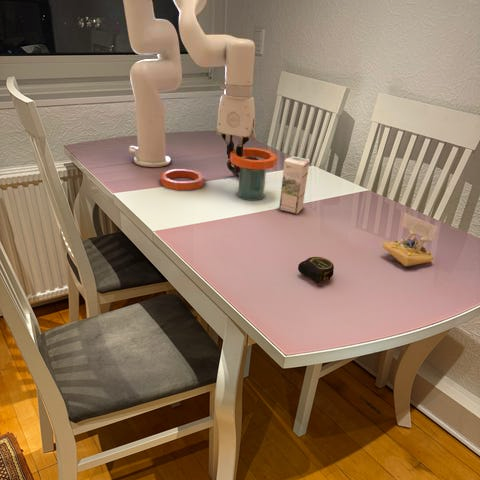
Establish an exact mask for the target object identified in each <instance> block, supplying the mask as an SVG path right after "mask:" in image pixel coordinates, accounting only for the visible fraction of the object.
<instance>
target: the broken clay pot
mask: <svg viewBox="0 0 480 480" xmlns="http://www.w3.org/2000/svg"><path fill="white" fill-rule="evenodd" d="M242 158H245V159H250V160H260V158H258V157H246V156H245V157H242ZM226 167H227V169H228V171H230V172H231V173H232V175H233V176H238V175H239V170H240V167H239V166H236V165H234V164H232V163H231V161H230V159H228V160H227V162H226Z"/></svg>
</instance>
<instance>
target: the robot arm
mask: <svg viewBox="0 0 480 480" xmlns="http://www.w3.org/2000/svg"><path fill="white" fill-rule="evenodd" d="M172 1H173V3H174V5H175V7H176V8H177V10H178V12H179V14H178V15H179V16H178V32H179V35H178V32H177V30H176V28H175V26H174V24H172V23H171V21H169V20H168V19H164V18H156V17H155V12H154V3H153V0H122V3H123V9H124V15H125V20H126V22H125V23H126V27H127V34H128V40H129V44H130V47H131V49H132V51H133V52H134V53H135V54H137V55H145V56H146V55H148V56H149V55H157V58H150V59H142V60H138V61H136V62H135V63H134V64H132V66H131V67H130V68H131V69H130V70H129V78H130V83H131V88H132V93H133V98H134V109H135V110H134V111H135V124H136V140H137V141H136V142H137V146H136V145H135V146H134V145H129V146H128V153H129V154H134V155H135V156H134V157H133V162H134V163H135V164H136V165H137V166H141V167H145V168H160V167H165V166H168V165H170V164H171V162H172V161H171V160H172V159H171V157H169V156H168V155H167V145H166V143H167V141H166V138H167V137H166V111H165V110H166V109H165V104H164V102H163V100H162V97H160V93H165V92H166V93H167V92H173V91H176V90H178V89H179V88H180V86H181V85H182V81H183V69H182V68H183V67H182V59H181V52H180V51H181V50H180V41H179V36H180V39H181V42H182V44H183V45H184V48H185V50H186V51H187V54H188V55H189V57H190V58H191V59H192V61H193V62H194V63H195V64H196V65H197V66H199V67H202V68H212V67H213V68H214V67H225V74H224V83H220V86H219V89H220V90H223V94H221V96H220V100H219V106H218V112H217V121H216V130H215V134H216V135H218V136H220V137H221V138H222V139H223V141H224V142H225V144H226V155H227V159H228V160H229V159H230V152H231V151H233V150H234V149H236V154H237V156H239V157H242V155H243V148H244V146H245V144H246V143H248V142H250V141H254V140H256V139H257V134H256V130H255V128H256V127H255V124H256V109H255V108H256V107H255V98H254V96H253V95H252V94H253V83H254V70H255V69H254V68H255V58H256V57H255V55H256V43H255V42H254V40H251V39H249V38H239V37H235V36H234V35H230V34H206V33H205V32H204V30H203V29H202V27H201V25H200V23H199V22H198V19H197V16H198V15H199V14H200V13H201V12H202V11H203V9H204V8H205V6H206V5H207V1H208V0H172ZM234 136H235V137H238V140H237V141H238V142H237V146H236V147H235V143H234V141H233V140H234V138H233V137H234ZM242 158H243V157H242Z"/></svg>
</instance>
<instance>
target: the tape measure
mask: <svg viewBox="0 0 480 480" xmlns="http://www.w3.org/2000/svg"><path fill="white" fill-rule="evenodd" d="M297 270H298V272H299V273H300V274H301V275H303V276H304V277H306V278H308V279H309V280H311V281H312V282H313V283H315V284H317V285H321V284H322V283H323V282H328V281H330V280H331V278H333V276H334V272H335V271H334V270H335V265H334V263H333V262H332V260H330V259H328V258H325V257H322V256H311V257H308V258H307V259H305V260H303V261H301V262H300V263H299V264H298V265H297Z"/></svg>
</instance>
